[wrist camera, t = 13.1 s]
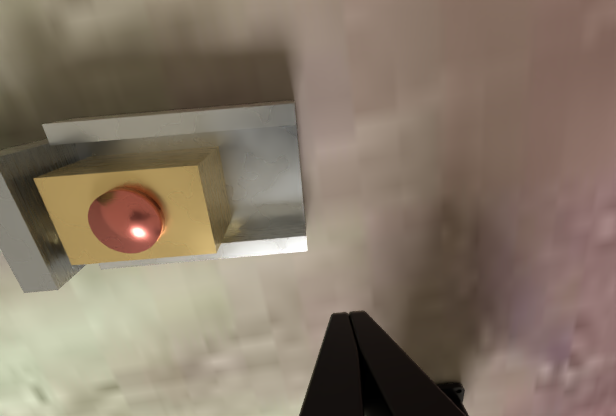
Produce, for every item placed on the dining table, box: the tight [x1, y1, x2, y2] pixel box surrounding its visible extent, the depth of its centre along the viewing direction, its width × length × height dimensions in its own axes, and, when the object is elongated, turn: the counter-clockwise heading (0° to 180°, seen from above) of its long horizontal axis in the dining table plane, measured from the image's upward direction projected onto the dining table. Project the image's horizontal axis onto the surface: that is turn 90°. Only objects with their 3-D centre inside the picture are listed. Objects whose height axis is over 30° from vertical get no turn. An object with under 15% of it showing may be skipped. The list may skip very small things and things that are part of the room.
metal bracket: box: [0, 100, 307, 293], centre depth 16 cm, size 25×8×5 cm, turn 94°
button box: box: [33, 146, 232, 265], centre depth 15 cm, size 7×4×5 cm, turn 94°
